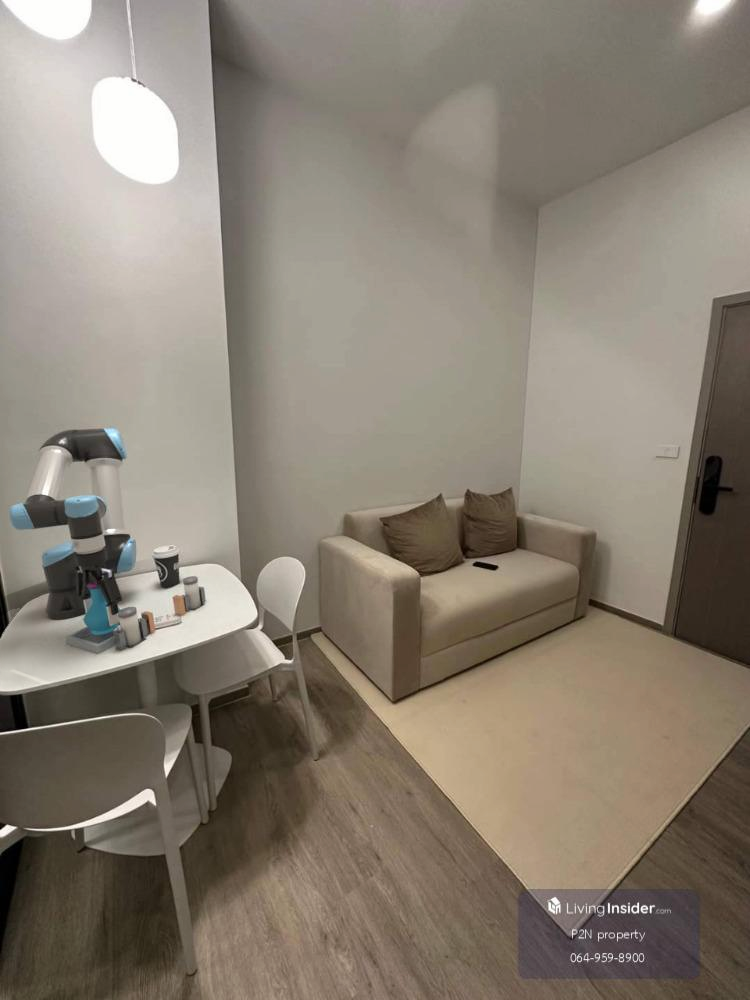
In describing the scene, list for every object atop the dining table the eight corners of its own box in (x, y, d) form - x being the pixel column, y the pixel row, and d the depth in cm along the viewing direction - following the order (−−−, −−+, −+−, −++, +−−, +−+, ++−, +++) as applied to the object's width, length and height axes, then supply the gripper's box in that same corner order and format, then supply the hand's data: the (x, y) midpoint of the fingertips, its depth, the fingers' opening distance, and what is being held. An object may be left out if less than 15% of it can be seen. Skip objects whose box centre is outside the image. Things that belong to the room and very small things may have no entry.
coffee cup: (176, 589, 152) (171, 552, 149) (151, 590, 152) (145, 553, 149) (188, 579, 161) (183, 544, 158) (165, 579, 161) (159, 544, 158)
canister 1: (119, 644, 115) (113, 612, 113) (134, 636, 120) (128, 605, 117) (130, 647, 114) (125, 615, 111) (145, 638, 118) (140, 608, 116)
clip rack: (112, 650, 114) (108, 628, 112) (197, 601, 142) (194, 583, 141) (126, 654, 112) (122, 631, 110) (209, 603, 140) (207, 585, 139)
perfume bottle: (129, 624, 121) (121, 578, 118) (98, 639, 113) (88, 591, 110) (110, 618, 125) (102, 574, 122) (79, 633, 117) (69, 586, 114)
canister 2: (183, 607, 136) (179, 580, 134) (194, 601, 140) (190, 575, 138) (193, 610, 134) (190, 582, 132) (204, 603, 139) (200, 577, 136)
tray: (67, 646, 116) (65, 637, 116) (113, 622, 129) (111, 614, 128) (99, 656, 111) (97, 646, 111) (144, 630, 124) (142, 621, 123)
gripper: (51, 550, 114) (66, 620, 119) (102, 558, 106) (116, 634, 111) (78, 542, 121) (92, 609, 126) (128, 549, 113) (141, 621, 118)
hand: (103, 620), depth 119 cm, fingers closed on perfume bottle, 9 cm apart
